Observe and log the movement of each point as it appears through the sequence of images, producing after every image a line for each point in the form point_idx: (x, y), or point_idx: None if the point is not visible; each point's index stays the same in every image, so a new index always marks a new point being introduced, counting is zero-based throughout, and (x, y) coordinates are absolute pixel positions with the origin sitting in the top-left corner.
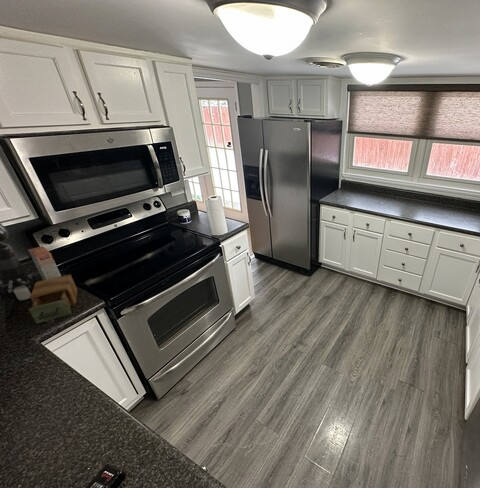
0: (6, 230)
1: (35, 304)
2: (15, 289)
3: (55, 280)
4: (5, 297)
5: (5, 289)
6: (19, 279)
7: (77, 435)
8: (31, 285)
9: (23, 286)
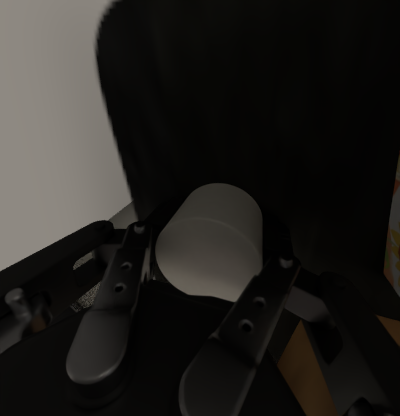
0: None
1: None
2: (171, 264)
3: None
4: (124, 175)
5: (104, 256)
6: None
7: None
8: (288, 304)
9: (224, 254)
